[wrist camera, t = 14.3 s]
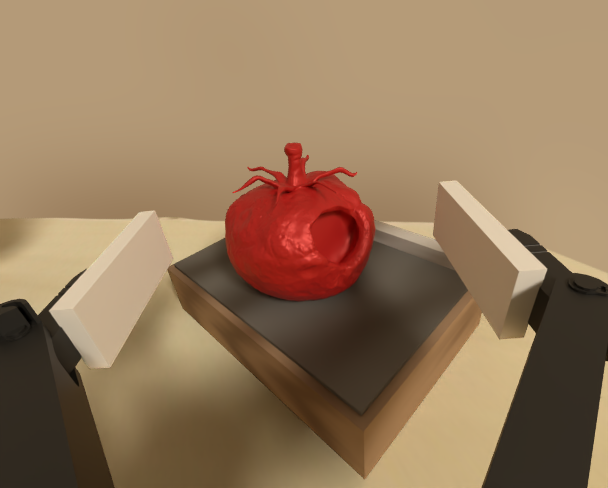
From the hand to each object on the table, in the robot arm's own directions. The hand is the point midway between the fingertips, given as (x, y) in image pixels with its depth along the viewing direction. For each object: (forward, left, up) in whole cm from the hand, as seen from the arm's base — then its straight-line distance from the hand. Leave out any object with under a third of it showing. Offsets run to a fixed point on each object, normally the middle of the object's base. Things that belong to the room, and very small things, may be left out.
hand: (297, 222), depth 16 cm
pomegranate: (-4, +4, -7) cm, 9 cm away
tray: (-4, +4, -12) cm, 14 cm away
